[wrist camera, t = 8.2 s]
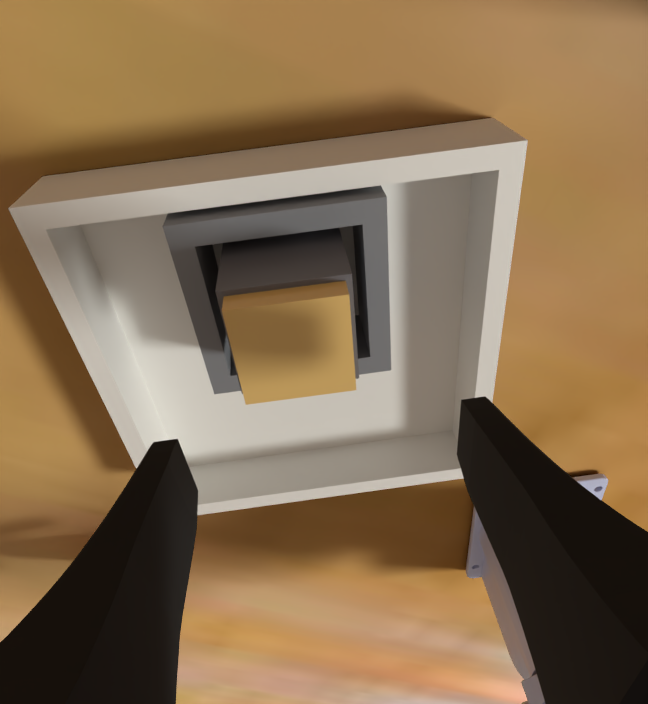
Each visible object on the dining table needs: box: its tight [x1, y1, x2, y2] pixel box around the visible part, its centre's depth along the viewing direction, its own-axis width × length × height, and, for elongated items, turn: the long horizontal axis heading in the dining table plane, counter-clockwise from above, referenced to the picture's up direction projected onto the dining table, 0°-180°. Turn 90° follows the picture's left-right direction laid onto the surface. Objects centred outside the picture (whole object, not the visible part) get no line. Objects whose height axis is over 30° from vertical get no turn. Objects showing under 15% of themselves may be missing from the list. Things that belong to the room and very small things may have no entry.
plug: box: [215, 228, 359, 405], centre depth 18 cm, size 4×4×6 cm
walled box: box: [8, 118, 528, 515], centre depth 21 cm, size 16×16×4 cm
